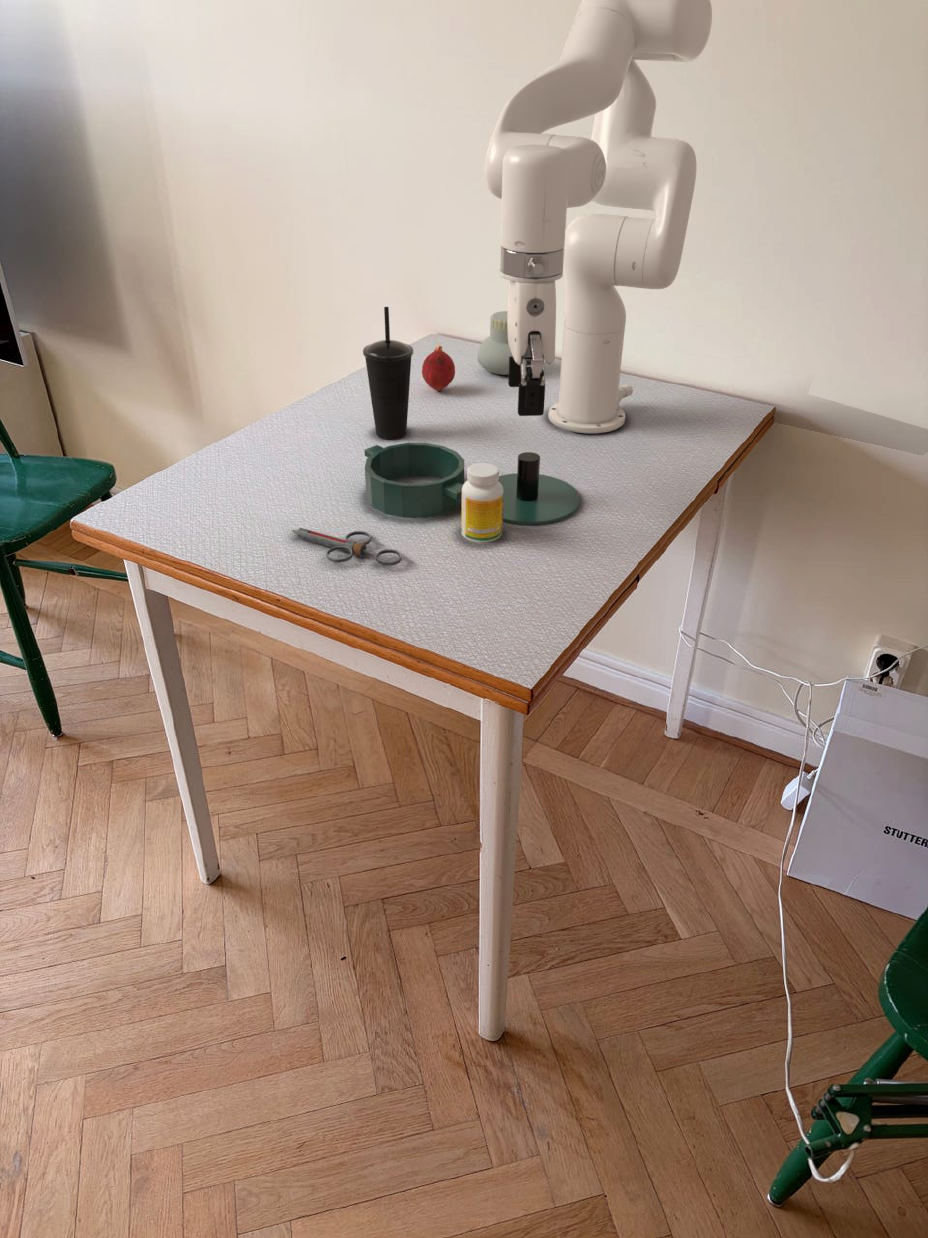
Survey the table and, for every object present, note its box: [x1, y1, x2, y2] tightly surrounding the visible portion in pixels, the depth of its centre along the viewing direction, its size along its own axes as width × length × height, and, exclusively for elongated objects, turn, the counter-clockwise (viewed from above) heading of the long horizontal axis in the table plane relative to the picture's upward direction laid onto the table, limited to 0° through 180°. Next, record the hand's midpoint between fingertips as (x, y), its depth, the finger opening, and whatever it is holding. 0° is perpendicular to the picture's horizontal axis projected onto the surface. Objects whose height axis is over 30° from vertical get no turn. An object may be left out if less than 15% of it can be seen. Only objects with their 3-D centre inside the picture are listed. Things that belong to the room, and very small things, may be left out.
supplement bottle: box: [460, 462, 504, 543], centre depth 121 cm, size 5×5×10 cm
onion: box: [421, 345, 456, 392], centre depth 163 cm, size 6×6×8 cm
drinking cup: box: [362, 306, 414, 441], centre depth 145 cm, size 8×8×20 cm
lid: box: [498, 451, 581, 526], centre depth 129 cm, size 15×15×7 cm
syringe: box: [281, 526, 403, 567], centre depth 120 cm, size 8×18×2 cm, turn 63°
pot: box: [364, 442, 465, 519], centre depth 131 cm, size 14×19×5 cm
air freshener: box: [477, 310, 513, 376], centre depth 171 cm, size 11×8×10 cm
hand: (525, 399), depth 121 cm, fingers open, 9 cm apart
